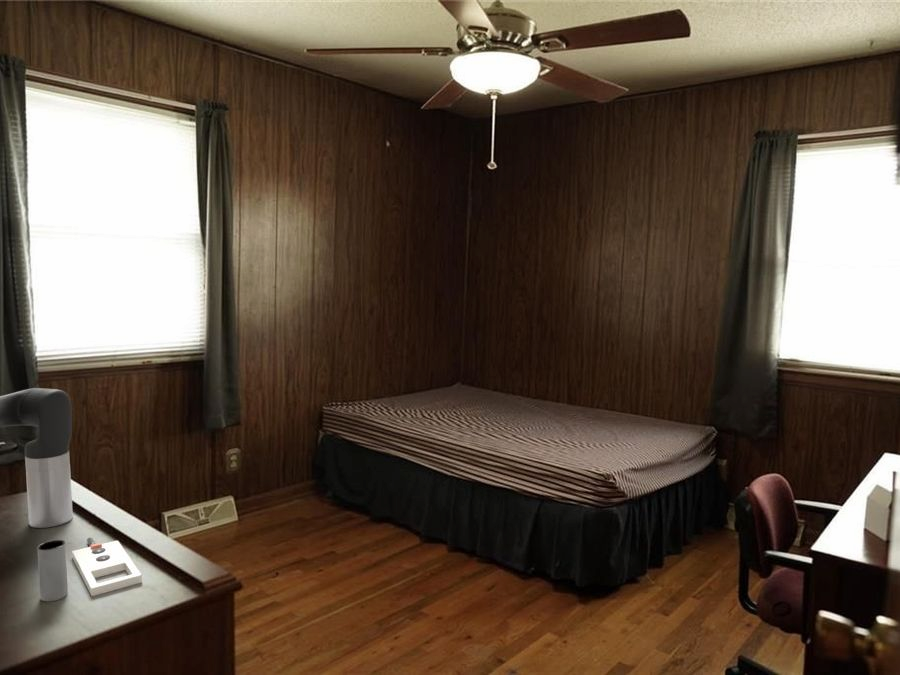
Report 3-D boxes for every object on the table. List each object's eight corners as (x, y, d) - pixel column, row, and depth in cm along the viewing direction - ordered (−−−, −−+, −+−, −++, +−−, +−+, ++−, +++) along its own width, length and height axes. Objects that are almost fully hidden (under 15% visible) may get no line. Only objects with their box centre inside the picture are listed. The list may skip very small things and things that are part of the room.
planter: (73, 592, 126) (70, 541, 125) (52, 603, 122) (49, 551, 120) (56, 588, 127) (53, 538, 126) (34, 599, 123) (31, 547, 122)
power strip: (67, 547, 145) (66, 538, 145) (111, 537, 151) (111, 528, 151) (91, 596, 124) (91, 585, 124) (141, 582, 130) (141, 572, 130)
